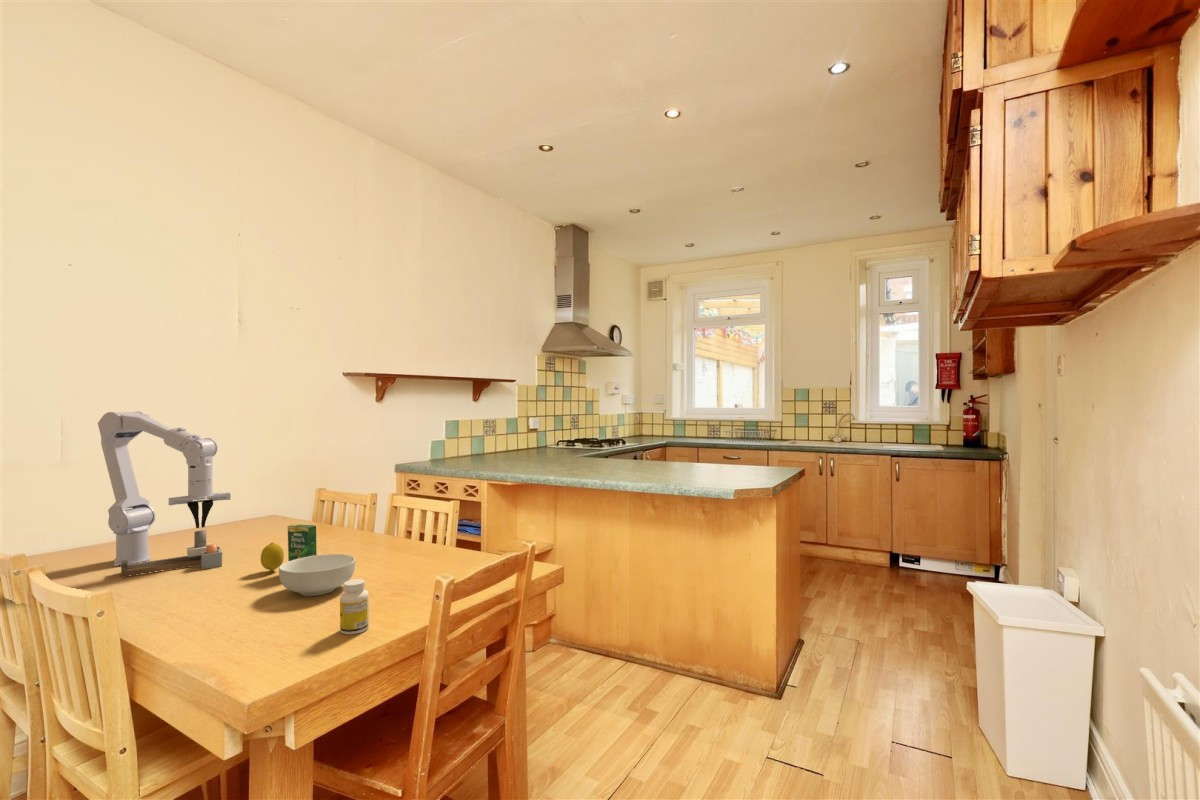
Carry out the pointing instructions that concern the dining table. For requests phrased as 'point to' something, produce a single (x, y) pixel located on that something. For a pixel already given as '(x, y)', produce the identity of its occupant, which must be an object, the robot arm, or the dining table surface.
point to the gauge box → (211, 559)
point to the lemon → (272, 556)
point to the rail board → (159, 565)
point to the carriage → (198, 544)
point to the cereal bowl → (316, 573)
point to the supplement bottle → (354, 607)
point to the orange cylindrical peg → (211, 548)
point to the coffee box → (301, 541)
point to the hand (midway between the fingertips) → (200, 527)
